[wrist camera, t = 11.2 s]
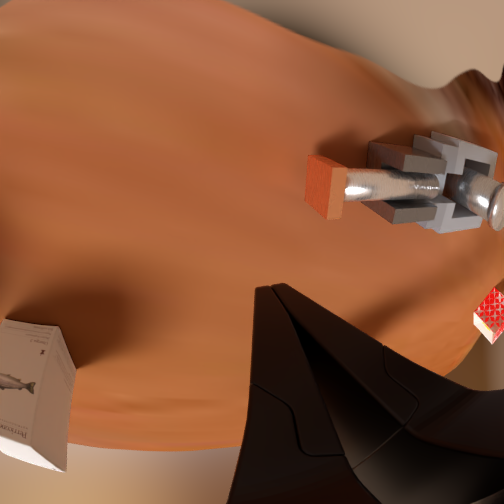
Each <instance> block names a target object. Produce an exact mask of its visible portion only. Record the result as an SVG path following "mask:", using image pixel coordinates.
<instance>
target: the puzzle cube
mask: <svg viewBox="0 0 504 504" xmlns="http://www.w3.org/2000/svg"><path fill="white" fill-rule="evenodd" d="M474 325H475V326H476V327H477V328H478V329H479V330H480V331H481V332H482V333H483V334H484V336H485V337H486V338H487V339H488V340H489V341H490V342H491V344H493V343H494V341H495V340H496V339H497V338H498V337H499V336H500V334H501V333H502V332H503V331H504V296H503V295H502V294H501V293H500V292H499V291H498V290H497V289H496V288H495V287H494V288H493V289H492V291H491V292H490V293H489V294H488V296H487V297H486V298H485V299H484V301H483V302H482V303H481V304H480V306H479V307H478V308H477V309H476V310H475V311H474Z"/></svg>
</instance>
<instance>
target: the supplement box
mask: <svg viewBox="0 0 504 504" xmlns="http://www.w3.org/2000/svg"><path fill="white" fill-rule="evenodd" d="M75 376H76V368H75V366H74V363H73V361H72V359H71V356H70V354H69V351H68V349H67V346H66V344H65V341H64V338H63V336H62V333H61V330H60V328H59V326H46V325H37V324H30V323H24V322H18V321H13V320H9V319H3V321H2V323H1V325H0V451H2V452H3V453H4V454H6V455H8V456H11V457H14V458H17V459H19V460H23V461H25V462H28V463H31V464H35V465H38V466H41V467H45V468H48V469H52V470H56V471H60V472H66V464H67V441H68V428H69V418H70V409H71V401H72V394H73V387H74V381H75Z"/></svg>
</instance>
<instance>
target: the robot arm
mask: <svg viewBox="0 0 504 504" xmlns="http://www.w3.org/2000/svg"><path fill="white" fill-rule="evenodd" d="M226 504H504V389H502V390H493V391H479V390H473V389H469V388H467V387H464V386H462V385H460V384H458V383H455V382H453V381H451V380H449V379H447V378H445V377H443V376H441V375H438V374H436V373H434V372H432V371H430V370H428V369H426V368H424V367H422V366H420V365H418V364H416V363H414V362H412V361H410V360H409V359H407V358H405V357H404V356H402V355H400V354H398V353H397V352H395V351H393V350H392V349H390V348H388V347H387V346H385V345H384V346H383V345H382V343H380V342H379V341H377V340H375V339H374V338H372V337H370V336H369V335H367V334H366V333H364V332H362V331H361V330H359V329H358V328H356V327H354V326H353V325H351V324H350V323H348V322H346V321H345V320H343V319H341V318H340V317H338V316H337V315H335V314H333V313H332V312H330V311H329V310H327V309H325V308H324V307H322V306H321V305H319V304H317V303H316V302H314V301H313V300H311V299H310V298H308V297H306V296H305V295H303V294H302V293H300V292H298V291H297V290H295V289H294V288H292V287H290V286H289V285H287V284H285V283H280V284H274V285H271V286H261V287H256V288H255V296H254V315H253V334H252V352H251V371H250V386H249V401H248V411H247V420H246V425H245V430H244V435H243V440H242V445H241V449H240V453H239V457H238V461H237V465H236V469H235V473H234V477H233V481H232V485H231V489H230V492H229V496H228V500H227V503H226Z"/></svg>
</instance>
